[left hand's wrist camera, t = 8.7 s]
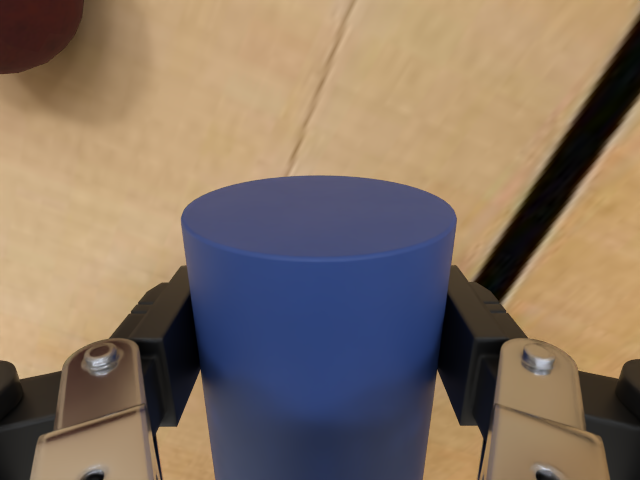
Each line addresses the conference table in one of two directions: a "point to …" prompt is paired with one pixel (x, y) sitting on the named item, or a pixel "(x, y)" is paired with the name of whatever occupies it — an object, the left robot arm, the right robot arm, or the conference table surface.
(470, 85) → the conference table surface
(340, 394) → the rod
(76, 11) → the plum
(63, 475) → the left robot arm
